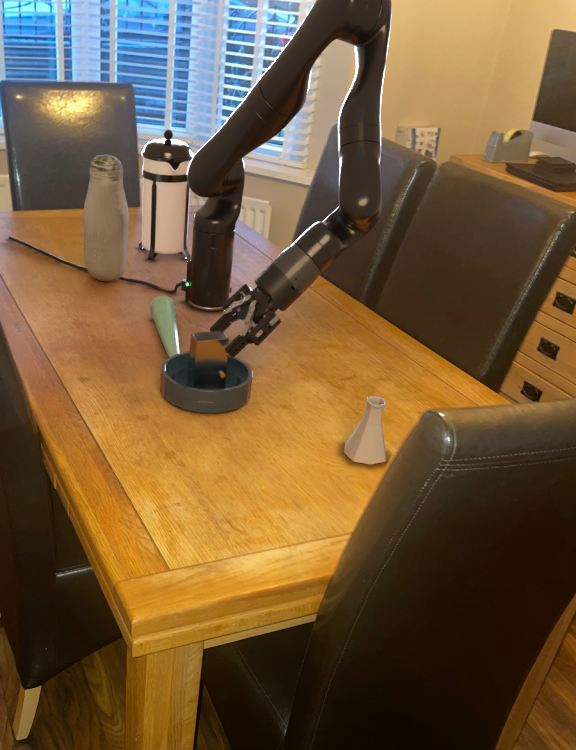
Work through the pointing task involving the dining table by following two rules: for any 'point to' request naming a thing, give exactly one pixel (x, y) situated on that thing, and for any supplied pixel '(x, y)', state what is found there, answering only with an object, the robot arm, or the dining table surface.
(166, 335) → the mint green cone
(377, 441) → the flask
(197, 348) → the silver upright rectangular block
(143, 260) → the dining table surface
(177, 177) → the coffee press
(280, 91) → the robot arm
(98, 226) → the glass bottle
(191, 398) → the bowl
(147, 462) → the dining table surface
